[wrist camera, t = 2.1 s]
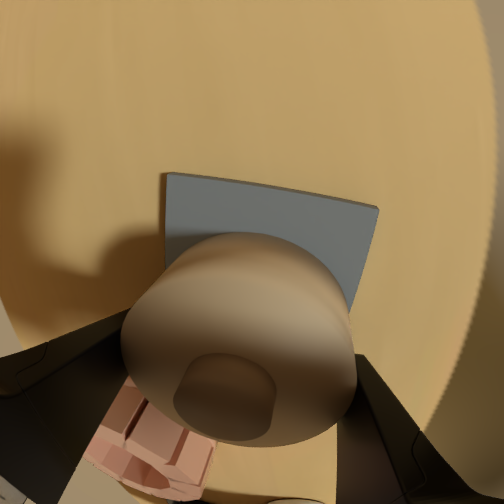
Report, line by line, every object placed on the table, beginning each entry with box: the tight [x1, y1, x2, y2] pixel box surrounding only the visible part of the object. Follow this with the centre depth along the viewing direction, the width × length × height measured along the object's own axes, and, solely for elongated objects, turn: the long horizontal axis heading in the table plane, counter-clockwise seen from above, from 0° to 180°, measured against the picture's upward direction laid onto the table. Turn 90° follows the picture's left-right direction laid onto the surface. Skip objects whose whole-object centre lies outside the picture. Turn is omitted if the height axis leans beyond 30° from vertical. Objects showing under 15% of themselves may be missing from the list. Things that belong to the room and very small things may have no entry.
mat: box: [165, 172, 379, 312], centre depth 10 cm, size 9×6×1 cm, turn 173°
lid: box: [120, 232, 357, 447], centre depth 8 cm, size 6×6×4 cm
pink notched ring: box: [82, 375, 218, 501], centre depth 13 cm, size 8×8×4 cm
